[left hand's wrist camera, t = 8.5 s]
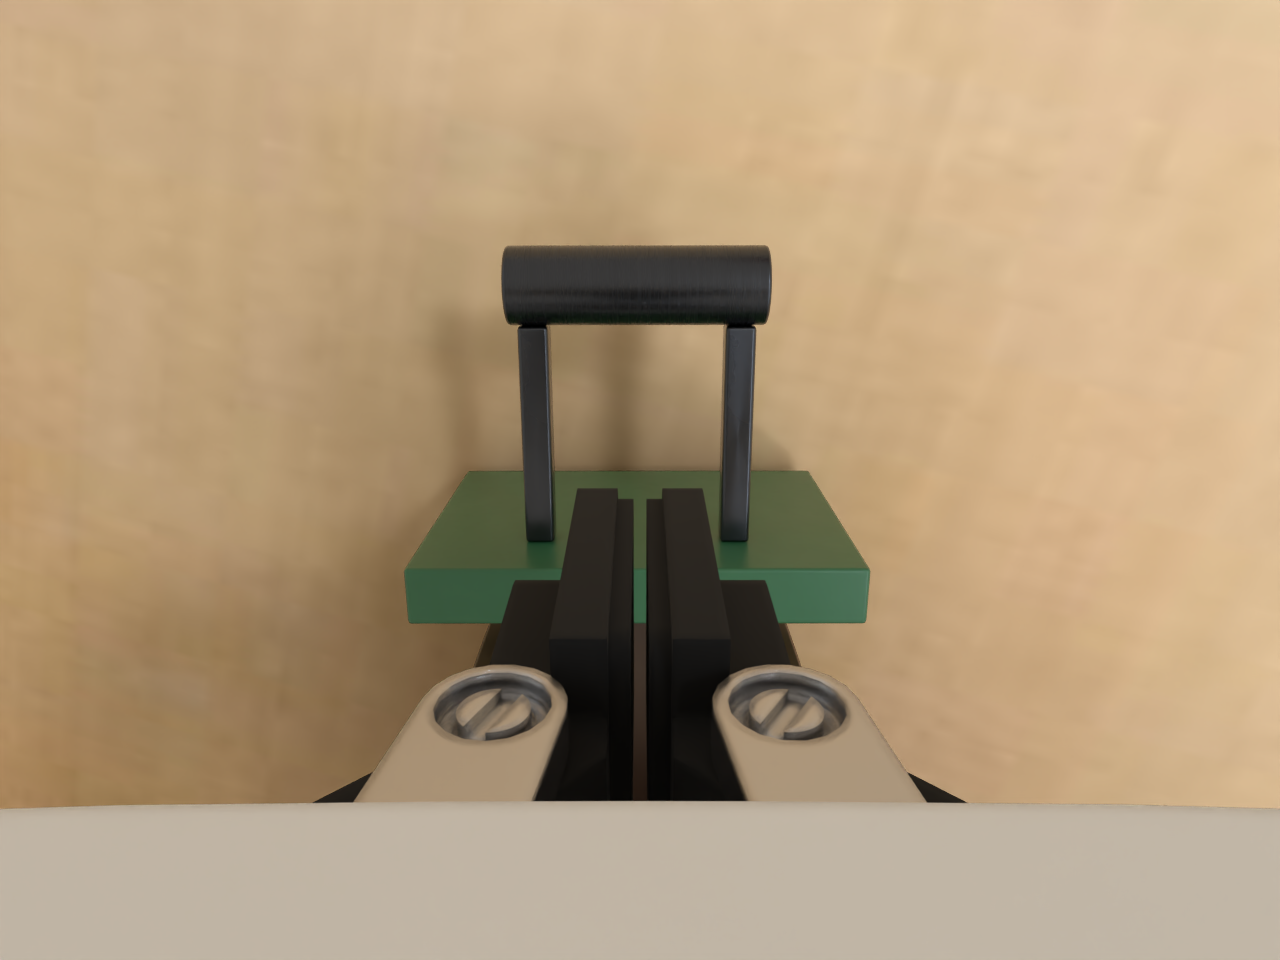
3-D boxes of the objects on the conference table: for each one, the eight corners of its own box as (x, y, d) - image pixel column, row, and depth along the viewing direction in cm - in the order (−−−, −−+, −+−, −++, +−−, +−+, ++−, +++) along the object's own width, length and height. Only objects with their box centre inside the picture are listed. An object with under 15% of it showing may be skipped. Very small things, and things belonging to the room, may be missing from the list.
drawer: (453, 237, 22) (374, 250, 16) (822, 236, 22) (897, 249, 16) (494, 918, 28) (451, 1130, 22) (783, 917, 28) (825, 1130, 22)
